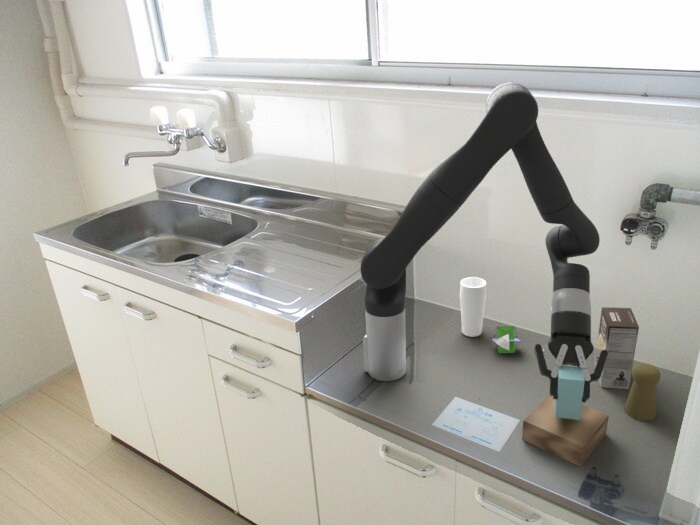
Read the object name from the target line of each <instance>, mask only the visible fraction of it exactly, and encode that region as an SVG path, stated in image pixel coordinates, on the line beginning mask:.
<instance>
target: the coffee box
mask: <svg viewBox="0 0 700 525" xmlns="http://www.w3.org/2000/svg"><path fill="white" fill-rule="evenodd" d="M600 312H601V313H600V320H599V326H598V327H599V328H598V336H597V341H596V342H597V343H596V349H599V350H607V352H608V355H607V358H606V361H605V364H604V368H603V371H602V374H601V377H600V378H599V380H598V382H599V386H600V388H605V389H606V388H608V389H609V388H610V389H620V390H621V389H623V390H624V389H625V390H630V383H631V379H632V378H631V377H632V371H633V368H634V366H633V364H634V361H635V354H636V348H637V344H638V336H639V331H640V326H639V324H638V321H637V318H636V317H635V314H634V312H633V310H632V308H631V307H605V306H604V307H603V306H602V307H601V310H600ZM596 364H597V361H596V360H595V359H594V368H595V367H596Z"/></svg>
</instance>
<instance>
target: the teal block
mask: <svg viewBox="0 0 700 525" xmlns="http://www.w3.org/2000/svg"><path fill="white" fill-rule="evenodd" d="M557 379H558V399H557V400H556V399H555V402H554V405H555V417H558V418H567V419H576V420H580V416H581V407H582V405H583V402H582V397H583V391H584V382H585V380H584V374H583V370H581V369H580V367H577V366H572V365H561V367H560V368H558V375H557Z"/></svg>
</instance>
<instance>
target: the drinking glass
mask: <svg viewBox="0 0 700 525" xmlns="http://www.w3.org/2000/svg"><path fill="white" fill-rule="evenodd" d="M486 300H487V281H486V280H485V279H483V278H482V277H477V276H469V277H465V278H462V279H461V280H460V283H459V303H460V317H461V318H460V320H461V321H460V322H461V333H462V334H463V335H464V336H466V337H469V338H475V337H479V336H481V335H482V332H483V323H484V322H483V321H484V316H485V314H484V313H485V307H486V302H487V301H486Z"/></svg>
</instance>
